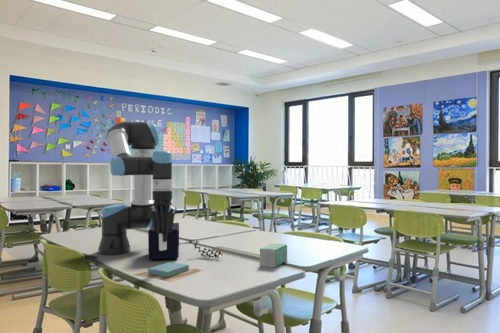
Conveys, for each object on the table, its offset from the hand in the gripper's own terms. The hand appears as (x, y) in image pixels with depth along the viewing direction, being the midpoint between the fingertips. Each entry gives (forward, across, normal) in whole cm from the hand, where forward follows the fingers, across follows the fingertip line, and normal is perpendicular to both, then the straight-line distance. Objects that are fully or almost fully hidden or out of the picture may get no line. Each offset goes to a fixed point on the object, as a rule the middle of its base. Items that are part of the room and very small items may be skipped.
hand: (162, 249), depth 152 cm
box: (+9, +31, +35) cm, 48 cm away
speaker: (+9, -19, +21) cm, 30 cm away
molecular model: (+9, +1, +28) cm, 29 cm away
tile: (+7, -2, 0) cm, 8 cm away
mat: (+9, +3, 0) cm, 10 cm away
